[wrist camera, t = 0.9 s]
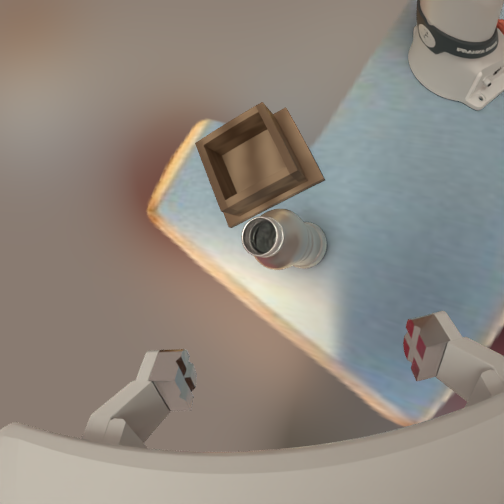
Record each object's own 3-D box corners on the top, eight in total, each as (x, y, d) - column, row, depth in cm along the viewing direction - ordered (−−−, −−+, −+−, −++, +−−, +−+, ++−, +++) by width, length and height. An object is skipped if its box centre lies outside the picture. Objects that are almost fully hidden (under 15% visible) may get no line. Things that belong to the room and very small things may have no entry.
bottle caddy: (287, 110, 49) (273, 90, 43) (324, 180, 47) (315, 167, 40) (204, 158, 55) (182, 147, 49) (231, 227, 52) (210, 223, 46)
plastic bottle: (281, 257, 49) (217, 255, 31) (298, 216, 48) (243, 190, 30) (318, 275, 47) (275, 285, 28) (336, 233, 46) (305, 215, 27)
